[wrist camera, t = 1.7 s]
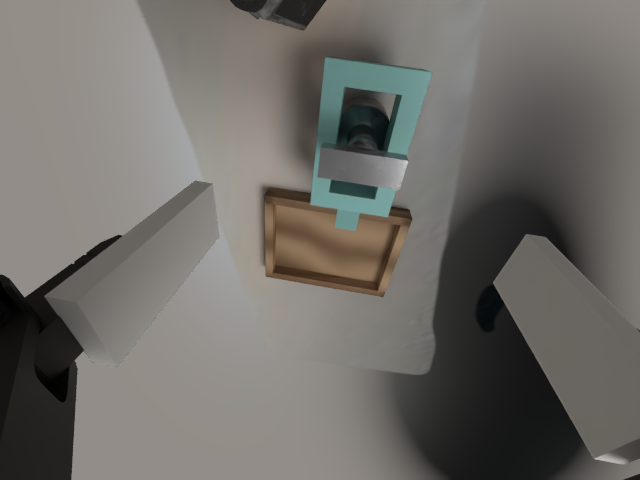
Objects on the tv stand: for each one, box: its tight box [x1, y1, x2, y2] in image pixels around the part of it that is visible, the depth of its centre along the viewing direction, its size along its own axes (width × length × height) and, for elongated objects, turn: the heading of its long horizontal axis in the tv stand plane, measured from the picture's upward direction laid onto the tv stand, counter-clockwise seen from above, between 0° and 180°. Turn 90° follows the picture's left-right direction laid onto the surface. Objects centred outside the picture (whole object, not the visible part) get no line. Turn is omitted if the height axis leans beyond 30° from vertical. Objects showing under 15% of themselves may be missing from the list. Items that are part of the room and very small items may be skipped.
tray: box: [265, 188, 412, 297], centre depth 35 cm, size 13×17×2 cm
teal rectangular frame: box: [310, 56, 432, 231], centre depth 22 cm, size 13×7×3 cm, turn 173°
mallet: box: [317, 97, 408, 190], centre depth 22 cm, size 5×6×12 cm
